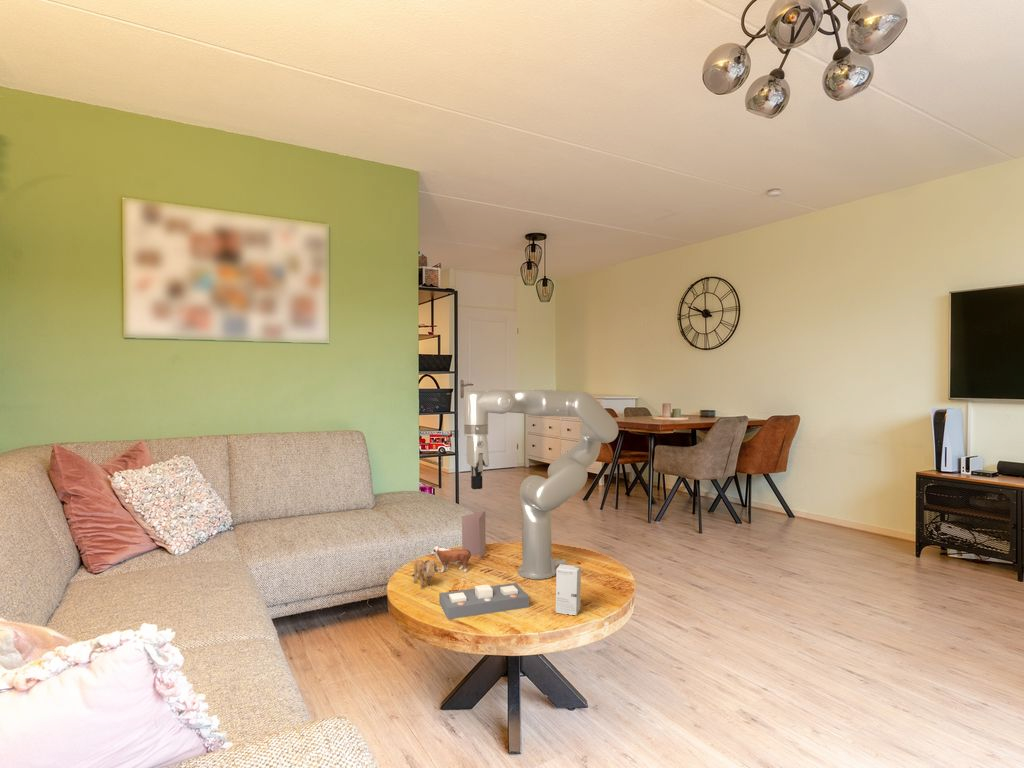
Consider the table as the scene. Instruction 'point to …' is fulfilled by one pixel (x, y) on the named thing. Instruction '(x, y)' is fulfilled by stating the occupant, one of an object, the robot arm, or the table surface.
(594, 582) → the table surface
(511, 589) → the inner button
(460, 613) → the button board
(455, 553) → the bull figurine
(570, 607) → the skincare box
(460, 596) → the outer button
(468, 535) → the greeting card
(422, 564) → the lion figurine
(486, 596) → the middle button
